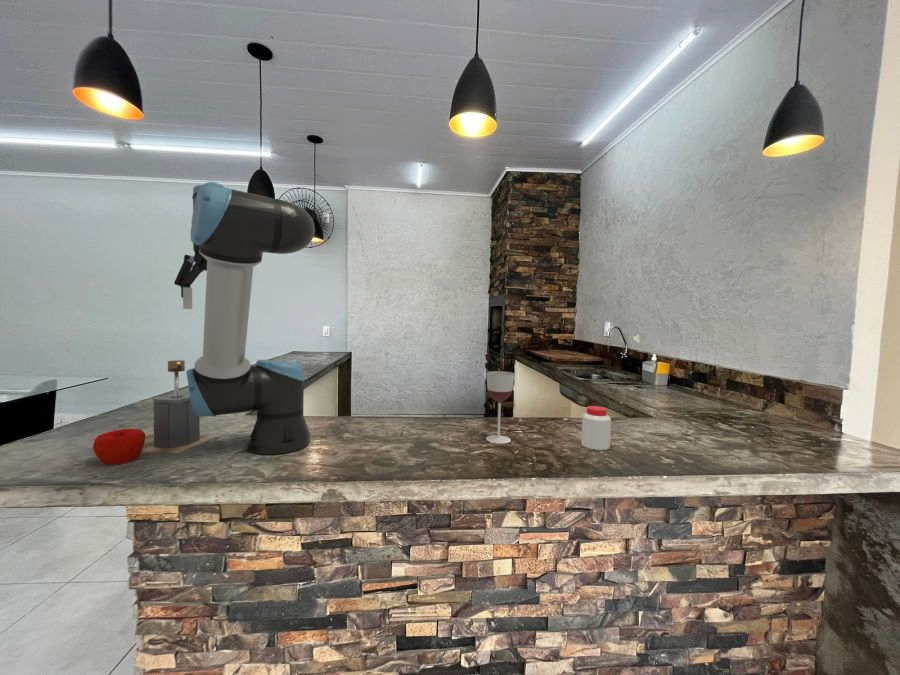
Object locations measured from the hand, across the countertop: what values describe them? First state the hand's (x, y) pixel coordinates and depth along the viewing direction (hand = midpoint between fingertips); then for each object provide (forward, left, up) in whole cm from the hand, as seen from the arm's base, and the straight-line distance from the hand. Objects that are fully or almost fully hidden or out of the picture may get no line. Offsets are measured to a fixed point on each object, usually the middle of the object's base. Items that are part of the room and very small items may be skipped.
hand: (208, 309), depth 114 cm
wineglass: (-90, -3, -37) cm, 97 cm away
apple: (-2, +30, -37) cm, 48 cm away
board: (0, +18, -37) cm, 41 cm away
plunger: (-4, +17, -34) cm, 38 cm away
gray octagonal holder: (-4, +16, -36) cm, 39 cm away
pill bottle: (-118, -2, -37) cm, 124 cm away
